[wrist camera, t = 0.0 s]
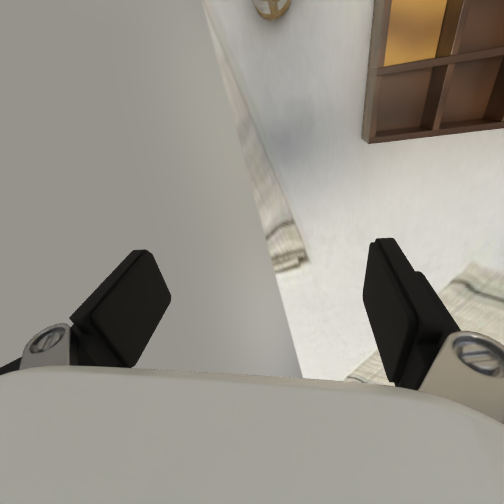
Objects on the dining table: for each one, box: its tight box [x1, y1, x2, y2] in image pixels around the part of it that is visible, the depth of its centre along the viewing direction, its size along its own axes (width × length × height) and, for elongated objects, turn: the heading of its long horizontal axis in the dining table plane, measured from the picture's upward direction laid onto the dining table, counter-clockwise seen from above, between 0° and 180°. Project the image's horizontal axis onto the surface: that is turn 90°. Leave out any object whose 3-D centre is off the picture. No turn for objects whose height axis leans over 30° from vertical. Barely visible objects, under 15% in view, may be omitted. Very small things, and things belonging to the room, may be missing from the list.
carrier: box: [361, 0, 504, 144], centre depth 27 cm, size 15×22×4 cm
